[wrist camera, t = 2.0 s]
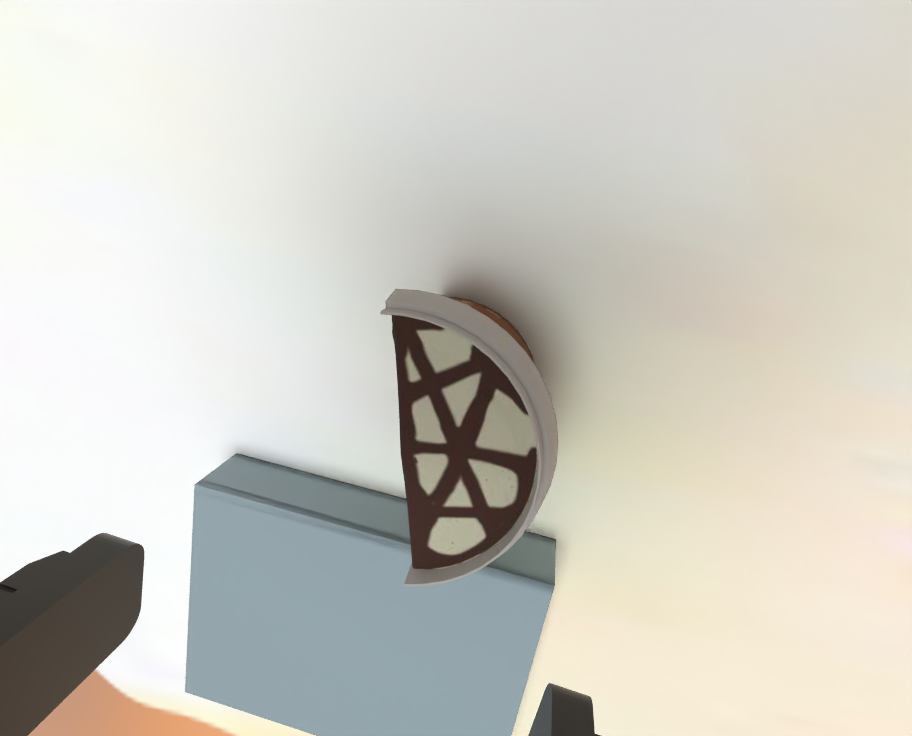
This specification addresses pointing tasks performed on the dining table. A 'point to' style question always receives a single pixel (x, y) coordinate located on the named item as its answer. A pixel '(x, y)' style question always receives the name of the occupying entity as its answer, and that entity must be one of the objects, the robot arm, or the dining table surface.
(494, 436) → the food container
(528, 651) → the book
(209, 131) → the dining table surface
